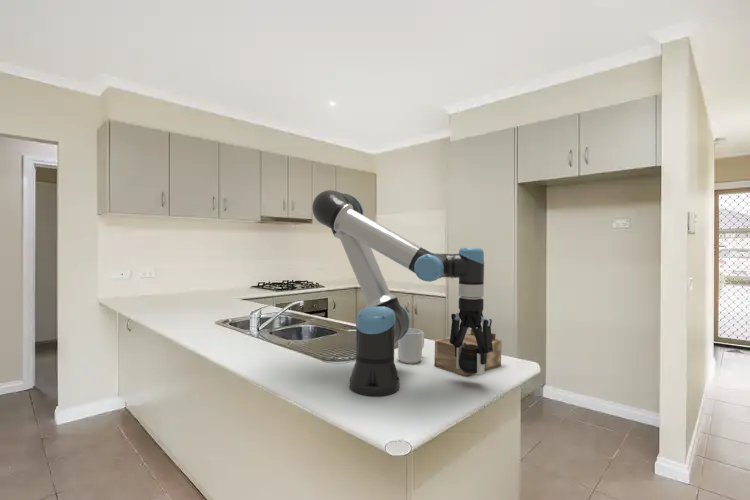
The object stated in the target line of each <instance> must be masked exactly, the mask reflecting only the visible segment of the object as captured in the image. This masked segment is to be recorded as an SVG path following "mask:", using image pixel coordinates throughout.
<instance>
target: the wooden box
mask: <svg viewBox="0 0 750 500" xmlns="http://www.w3.org/2000/svg"><path fill="white" fill-rule="evenodd" d="M467 334H471V332H469V333H466V335H467ZM448 338H450V336H449V337H445V338H444V337H443V338H439V339H435V340H434V364H433V365H434V367H437V368H439V369H442V370H444V371H448V372H450V373H454V374H457V375H459V376H463V377H465V378H466V377H470V376H474V375H477V373H475V374H469V373H465V372H463V371H462V370H461V368H460V369H457V368H456V358H457V357H455V349H452V348H449V347H445V346H441V345H438V344H437V341H439V340H444V339H448ZM502 342H503V341H502V340H501V339H498V341H494V342H492V346H493V351H492V352H489V353H487V363H486V364H485V370H484V372H486V371H490V370H492V369H494V368H498V367H501V366H502V347H503V346H502Z"/></svg>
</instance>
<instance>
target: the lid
mask: <svg viewBox="0 0 750 500" xmlns="http://www.w3.org/2000/svg"><path fill="white" fill-rule="evenodd" d="M470 333H471V334H468V333H466V334H467V335H465V337H464V340H463V343H462V344H463V345H464V343H466V344H474V345H477V341H476V338H475V334H474V332H473V331H472V328H470ZM482 333H483V330H482ZM491 336H492V342H494V341H498V340H499V339H498V338H496V333H492V332H491ZM447 338H448V339H444V338H443V339H444V340H439V339H438V340H439V341H437V344H438V345H441V346H445V347H449V348H452V349H455V346H454V345H453V344H450V338H449V337H447ZM461 347H462V346H461Z"/></svg>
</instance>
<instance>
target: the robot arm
mask: <svg viewBox="0 0 750 500" xmlns="http://www.w3.org/2000/svg"><path fill="white" fill-rule="evenodd" d="M311 209H312V215H313V216H314V219H315V220H317V222H318V223H320V224H321V225H323V226H325V227H328V228H329V229H330V230H331V232H332V234H333V237H335V238H336V239H339V240H340V242H341V245H342V246H343V249H344V252H345V254H346V256H347V259H348V261H349V263H350V266H351V268H352V270H353V274H354V275H355V278H356V281H357V283H358V285H359V287H360V289H361V292H362V295H363V297H364V299H365V302H366V306H365V307H364V308H362V309H360V310H359V311H358V313H357V315H356V320H355V363H354V365H353V368H352V373H351V374H350V375H351V376H350V377H349V388H350V390H351V391H352V392H354V393H357V394H358V395H363V396H369V397H370V396H372V397H377V396H378V397H379V396H389V395H391V394H394V393H397V392H398V391H399V390H400V378H399V377H400V376H399V375H398V371H397V368H396V364H395V343H396V342H398V340H400V339H401V338H402V337H404V335H405V334H406V333H407V331H408V329H409V328H410V326H411V319H410V314H409V312H408V311H407V309H406V308H405V307H403V306H402V305H401V304H400V301H399V299H398V297H397V295H394V294H392V293H391V292H390V289H389V287H388V285H387V282H386V281H385V277H384V275H383V273H382V271H381V269H380V266H379V264H378V262H377V259H376V257H375V255H374V252H373V250H374V251H376V252H378V253H379V254H382V255H383V256H384V257H387V258H388V259H390V260H392V261H393V262H395V263H397V264H398V265H400V266H402V267H404V268H406V269H408V270H409V271H411V272H412V273H414V274H415V275H416V277H417V278H418V279H419V280H420V281H423V282H428V283H430V282H434V281H437V280H438V279H439V280H440V279H441V278H453V279H456V278H457V279H458V296H459V298H458V309H459V311H458V312H455V313H451V314H450V315H451V317H450V318H451V327H450V328H451V329H450V334H449V335H450V336H449V337H450V344H453V345H454V346H455V357H457V358H456V368H457V369H460V366H459V357H460V355H461V351H462V350H461V349H462V347H461V346H462V345H463V344H462V343H463V340H464V337H465V335H466V334H467V331H468V330H469V328H470V329H472V331H473V332H474V334H475V338H476V341H477V345H478V348H479V353H477V374H476V375H477V376H482V375H484V374H485V371H484V370H485V364H486V363H487V353H489V352H492V351H493V346H492V336H491V333H492V328H491V327H492V323H493V322H492V321H493V320H492V319H491V318H486V317H484V315H483V310H484V303H485V302H484V298H483V297H484V291H485V289H484V286H485V285H484V284H485V283H484V282H485V280H484V279H485V253H484V250H483V249H482V248H480V247H459V250H458V253H434V252H431V251H428V250H427V249H425V248H423V247H421V246H419V245H418V244H416V243H415V242H413V241H410V240H409V239H407V238H406V237H404V236H402V235H400V234H398V233H397V232H394V231H392V230H391V229H389V228H387V227H385V226H383V225H382V224H380V223H378V222H376V221H375V220H374V219H371V218H369V217H367V215H366V216H365V215H364V209H363V205H362V203H361V202H360V200H358V198H356V197H355V196H353V195H351V194H348V193H342V192H339V191H337V190H332V189H329V190H327V189H326V190H324V191H321V192H320V193H318V194H317V196H315V198H314V200H313V202H312V207H311ZM482 331H483V333H482Z"/></svg>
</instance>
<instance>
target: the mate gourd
mask: <svg viewBox="0 0 750 500" xmlns="http://www.w3.org/2000/svg"><path fill="white" fill-rule="evenodd" d="M461 350H462V351H461V355H460V357H459V366H460V368H461V370H462V371H463V372H465V373H469V374H474V375H476V374H475V373H477V353H479V348H478V345H474V344H466V343H464V345H462V349H461Z"/></svg>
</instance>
